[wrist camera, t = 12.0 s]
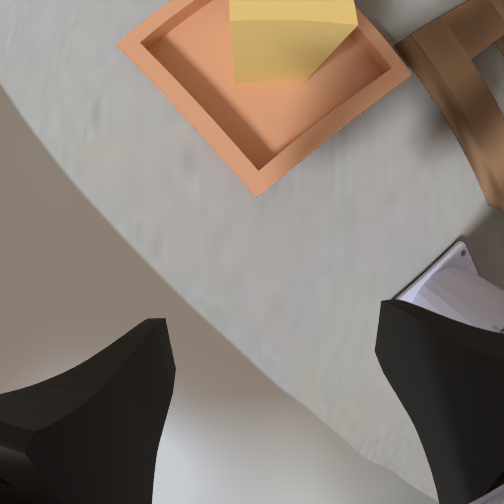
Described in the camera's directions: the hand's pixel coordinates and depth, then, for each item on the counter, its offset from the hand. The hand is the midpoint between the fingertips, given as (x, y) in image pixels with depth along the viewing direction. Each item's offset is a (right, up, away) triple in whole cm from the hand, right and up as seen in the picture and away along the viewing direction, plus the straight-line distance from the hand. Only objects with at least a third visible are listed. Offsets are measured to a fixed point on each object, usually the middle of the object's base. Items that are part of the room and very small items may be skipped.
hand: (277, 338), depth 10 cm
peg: (0, +14, +6) cm, 15 cm away
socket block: (+19, +16, +7) cm, 25 cm away
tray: (0, +14, +7) cm, 16 cm away
